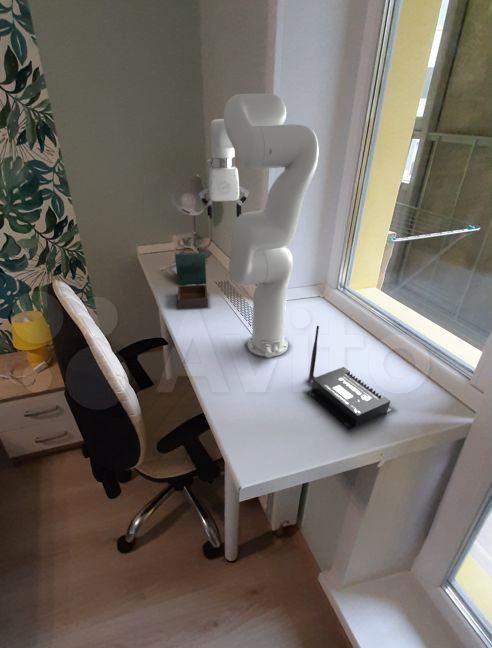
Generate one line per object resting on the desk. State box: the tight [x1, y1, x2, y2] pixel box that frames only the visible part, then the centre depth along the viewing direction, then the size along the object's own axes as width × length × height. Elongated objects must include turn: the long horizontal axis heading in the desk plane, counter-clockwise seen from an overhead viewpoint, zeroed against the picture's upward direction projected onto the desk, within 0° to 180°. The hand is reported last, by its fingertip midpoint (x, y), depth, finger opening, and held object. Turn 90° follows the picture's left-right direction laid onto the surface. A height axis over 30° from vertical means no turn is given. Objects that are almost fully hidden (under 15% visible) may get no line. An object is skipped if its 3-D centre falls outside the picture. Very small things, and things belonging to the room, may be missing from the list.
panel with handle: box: [174, 250, 207, 286], centre depth 147 cm, size 13×11×6 cm
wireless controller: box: [306, 325, 392, 431], centre depth 94 cm, size 20×14×17 cm
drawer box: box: [177, 284, 209, 310], centre depth 146 cm, size 13×11×4 cm
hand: (224, 217), depth 134 cm, fingers open, 9 cm apart
